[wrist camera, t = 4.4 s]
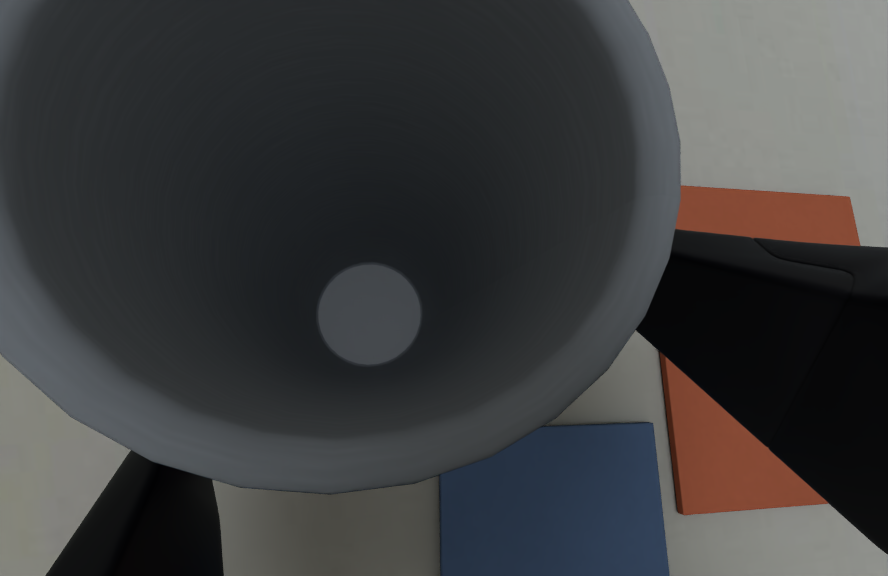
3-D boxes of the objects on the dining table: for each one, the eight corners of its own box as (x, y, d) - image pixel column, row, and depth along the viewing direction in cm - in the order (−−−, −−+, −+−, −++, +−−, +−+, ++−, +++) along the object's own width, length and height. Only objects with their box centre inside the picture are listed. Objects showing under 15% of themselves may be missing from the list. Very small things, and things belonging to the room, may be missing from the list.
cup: (269, 374, 17) (-295, 393, 3) (315, 224, 19) (114, -276, 4) (427, 408, 18) (652, 565, 3) (459, 261, 20) (706, -55, 5)
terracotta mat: (905, 494, 21) (915, 496, 21) (677, 512, 19) (683, 515, 19) (842, 199, 24) (850, 196, 24) (640, 186, 22) (645, 182, 22)
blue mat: (673, 667, 18) (680, 674, 17) (441, 701, 16) (443, 709, 16) (647, 422, 20) (653, 422, 19) (438, 430, 18) (440, 431, 18)
